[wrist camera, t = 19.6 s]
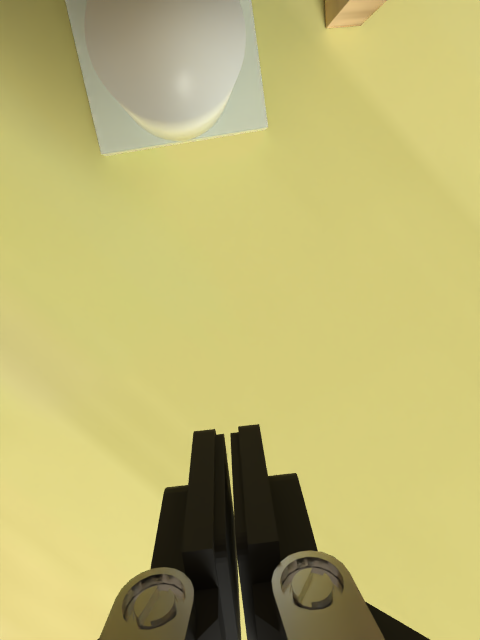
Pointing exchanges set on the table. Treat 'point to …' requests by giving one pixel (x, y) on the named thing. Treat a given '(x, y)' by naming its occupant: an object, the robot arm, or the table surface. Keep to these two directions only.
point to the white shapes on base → (168, 70)
